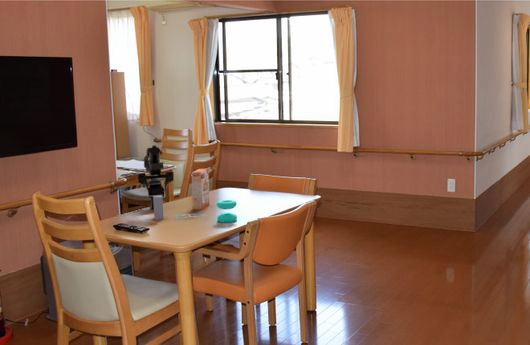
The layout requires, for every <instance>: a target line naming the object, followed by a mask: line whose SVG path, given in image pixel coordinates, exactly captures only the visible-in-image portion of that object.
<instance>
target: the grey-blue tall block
mask: <svg viewBox="0 0 530 345" xmlns="http://www.w3.org/2000/svg"><path fill="white" fill-rule="evenodd" d="M163 200H164V199H163V197H162V195H160V196H153V202H154V209H153V216H154V221H156V220H157V221H158V220H164V218H165V217H164V203H163Z"/></svg>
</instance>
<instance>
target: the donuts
mask: <svg viewBox="0 0 530 345" xmlns="http://www.w3.org/2000/svg"><path fill="white" fill-rule="evenodd" d="M216 207H217V208H218V209H219V210H231V209H234V208H236V207H237V201H235V200H233V199H221V200H218V201H216ZM216 219H217V222H220V223H233V222H236V220H237V219H238V215H237V214H235V213H233V212H223V213H220V214H218V215H217V217H216Z"/></svg>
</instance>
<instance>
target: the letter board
mask: <svg viewBox="0 0 530 345" xmlns="http://www.w3.org/2000/svg"><path fill="white" fill-rule="evenodd" d="M173 217H174V218H175V220H185V219H187V220H188V219H194V218H195V219H197V218H205V217H206V218H207V217H208V216H207V214H205V213H204V212H203V211H202V212H191V213H190V212H189V213H180V214H173Z"/></svg>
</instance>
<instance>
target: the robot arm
mask: <svg viewBox="0 0 530 345" xmlns="http://www.w3.org/2000/svg"><path fill="white" fill-rule="evenodd" d="M151 146H152V147H147V149H146V150H145V151H146V152H145V156H144V157H143V166H144V167H143V169H145V171H146V172H147V173H148V174H146V172H138V173H137V182H138V184H141V185H143V186H144V188H145V189H146V190H147V198H148V199H150V206H149V208H150V209H151V210H154V202H153V196H160V195H162V198H165V197H166V196H165V190H166V191H167V188H168V185H169V184H170V183H172V182H173V181H174V179H175V178H174V175H175V174H174V172H173V171H172V170H170V171H169V170H168V171H165V173H164V174H162V170H163V169H164V167H165V166H164V165H165V164H164V162H163V161H161V156H162V154H163V151H162V150H161V149H160V147H158V146H157V145H155V144H154V145H151ZM161 179H163V180H164V179H165V184H164V186H163V185H162V180H161ZM147 180H149V181H147Z"/></svg>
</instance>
